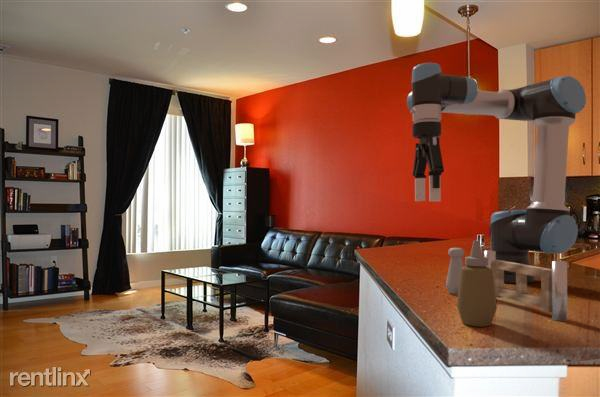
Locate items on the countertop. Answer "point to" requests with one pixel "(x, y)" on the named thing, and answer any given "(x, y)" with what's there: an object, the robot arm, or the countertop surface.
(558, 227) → the robot arm
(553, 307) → the gateposts
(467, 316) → the squeeze bottle
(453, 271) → the salt shaker
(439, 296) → the countertop surface
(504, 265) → the gate
